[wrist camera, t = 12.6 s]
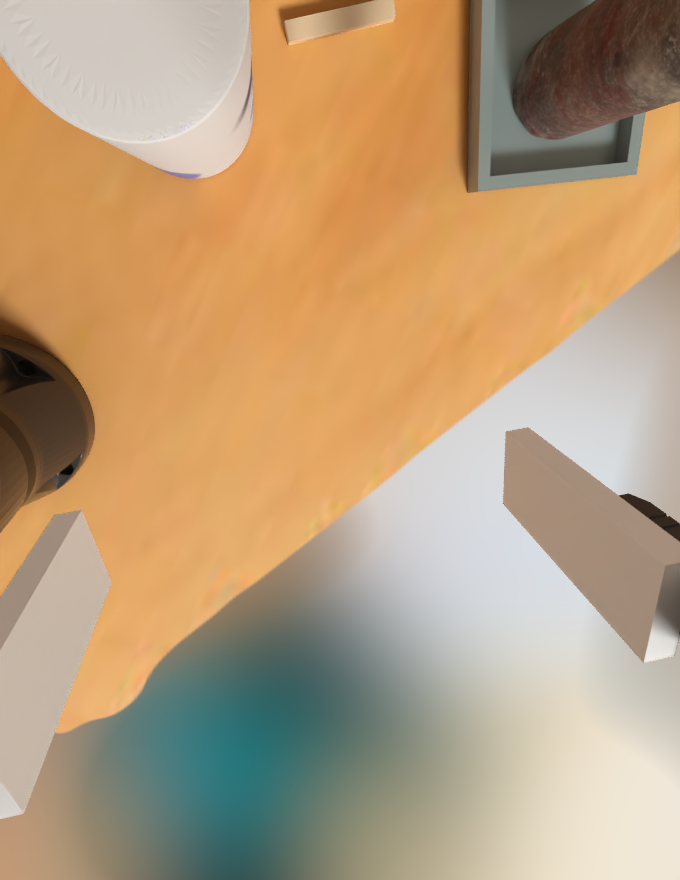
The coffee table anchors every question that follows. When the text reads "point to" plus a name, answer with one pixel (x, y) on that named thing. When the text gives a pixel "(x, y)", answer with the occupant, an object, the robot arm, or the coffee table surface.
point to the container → (141, 74)
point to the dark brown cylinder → (600, 68)
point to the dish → (493, 115)
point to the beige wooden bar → (339, 21)
